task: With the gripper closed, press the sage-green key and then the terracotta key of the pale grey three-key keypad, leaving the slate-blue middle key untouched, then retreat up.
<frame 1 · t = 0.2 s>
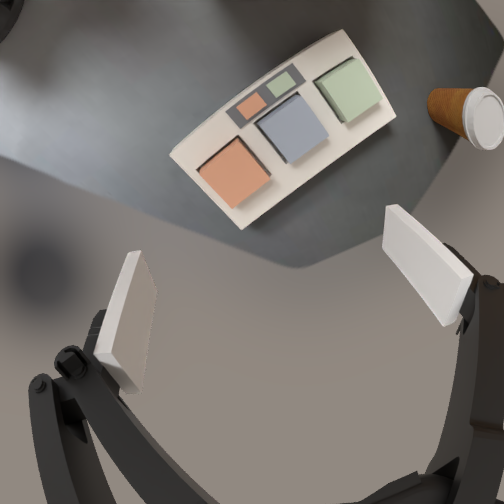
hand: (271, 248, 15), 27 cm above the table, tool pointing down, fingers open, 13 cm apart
keypad: (283, 123, 37), on the table
terracotta key: (234, 173, 35), point 5 cm above the table, slide at 0.0 cm
disposable coffee cup: (439, 105, 37), on the table
slate key: (293, 128, 33), point 5 cm above the table, slide at 0.0 cm
sage key: (349, 89, 31), point 5 cm above the table, slide at 0.0 cm
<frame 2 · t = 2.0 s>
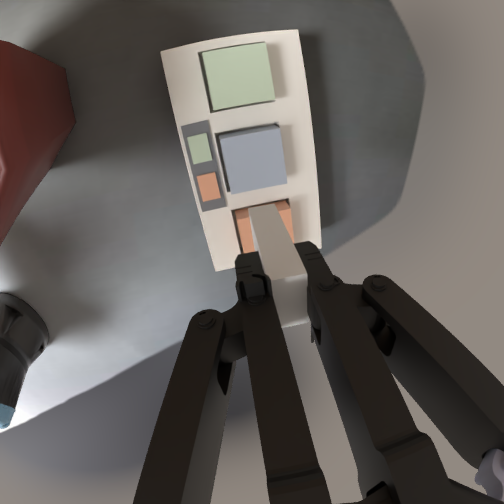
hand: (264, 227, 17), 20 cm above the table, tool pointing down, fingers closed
bucket: (22, 120, 26), on the table
keypad: (247, 148, 34), on the table
terracotta key: (265, 232, 35), point 5 cm above the table, slide at 0.0 cm
slate key: (253, 158, 30), point 5 cm above the table, slide at 0.0 cm
sage key: (238, 75, 25), point 5 cm above the table, slide at 0.0 cm
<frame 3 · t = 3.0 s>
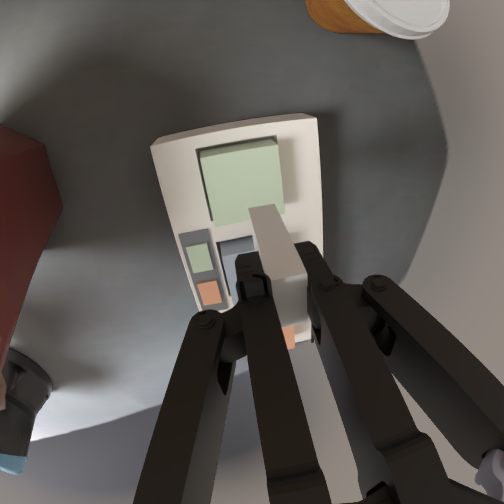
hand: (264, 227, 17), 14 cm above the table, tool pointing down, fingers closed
bucket: (5, 196, 25), on the table
keypad: (250, 242, 33), on the table
terracotta key: (266, 329, 34), point 5 cm above the table, slide at 0.0 cm
disposable coffee cup: (334, 7, 20), on the table
slate key: (257, 268, 29), point 5 cm above the table, slide at 0.0 cm
sage key: (243, 181, 24), point 5 cm above the table, slide at 0.0 cm
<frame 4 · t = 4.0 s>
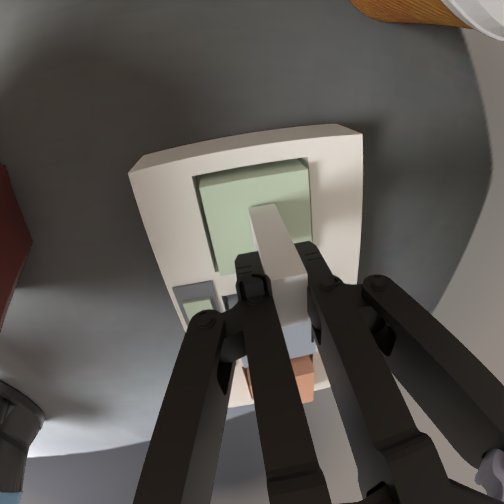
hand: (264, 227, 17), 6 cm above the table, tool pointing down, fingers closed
keypad: (263, 286, 27), on the table
terracotta key: (281, 384, 27), point 5 cm above the table, slide at 0.0 cm
slate key: (274, 326, 22), point 5 cm above the table, slide at 0.0 cm
sage key: (258, 216, 18), point 4 cm above the table, slide at 0.9 cm, touching gripper
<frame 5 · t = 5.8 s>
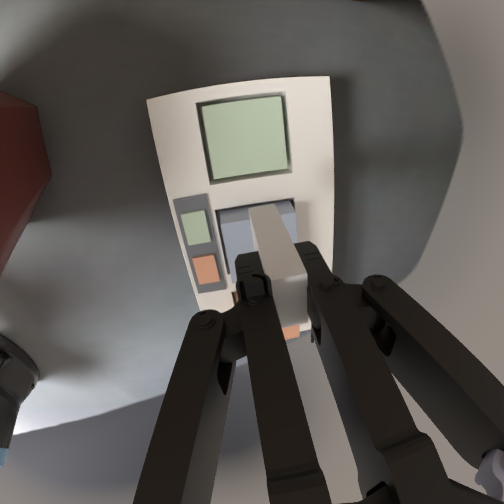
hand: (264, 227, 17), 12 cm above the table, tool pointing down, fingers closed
keypad: (253, 217, 30), on the table
terracotta key: (268, 315, 31), point 5 cm above the table, slide at 0.0 cm
slate key: (260, 242, 26), point 5 cm above the table, slide at 0.0 cm
sage key: (244, 135, 23), point 3 cm above the table, slide at 2.1 cm
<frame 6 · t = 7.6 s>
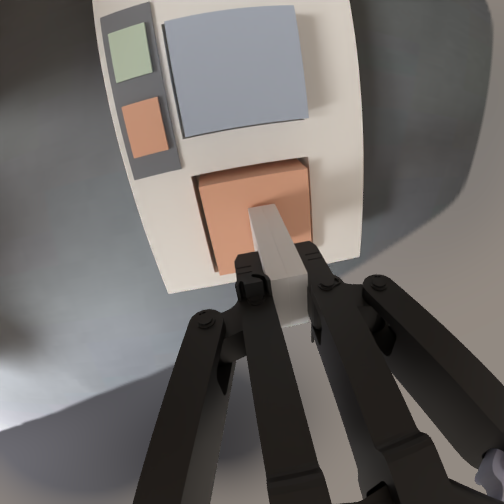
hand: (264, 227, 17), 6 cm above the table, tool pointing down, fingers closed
keypad: (230, 71, 17), on the table
terracotta key: (257, 216, 18), point 4 cm above the table, slide at 1.0 cm, touching gripper
slate key: (236, 67, 12), point 5 cm above the table, slide at 0.0 cm
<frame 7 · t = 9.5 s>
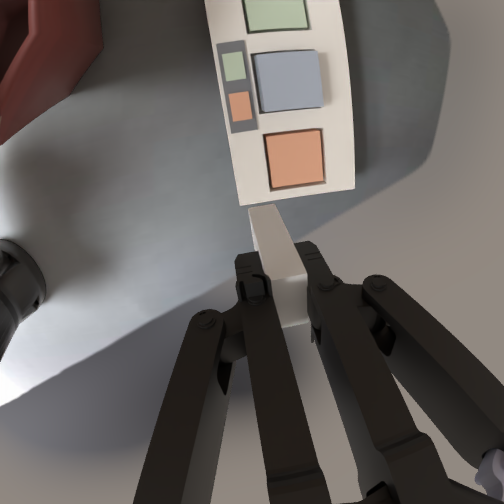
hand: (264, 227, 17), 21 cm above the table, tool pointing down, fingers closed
bucket: (47, 48, 23), on the table
keypad: (279, 80, 30), on the table
terracotta key: (293, 156, 33), point 3 cm above the table, slide at 2.2 cm
slate key: (288, 80, 26), point 5 cm above the table, slide at 0.0 cm
sage key: (273, 6, 23), point 3 cm above the table, slide at 2.1 cm
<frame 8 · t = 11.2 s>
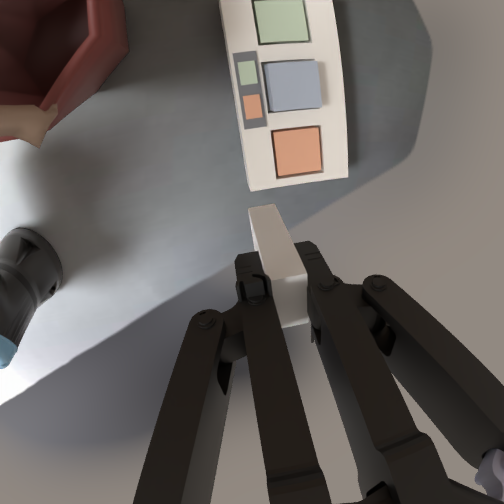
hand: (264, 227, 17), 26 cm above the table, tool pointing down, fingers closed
bucket: (74, 49, 28), on the table
keypad: (283, 84, 35), on the table
terracotta key: (296, 149, 38), point 3 cm above the table, slide at 2.2 cm
slate key: (293, 85, 31), point 5 cm above the table, slide at 0.0 cm
sage key: (279, 21, 28), point 3 cm above the table, slide at 2.1 cm
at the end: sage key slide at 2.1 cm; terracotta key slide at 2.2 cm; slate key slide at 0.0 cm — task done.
